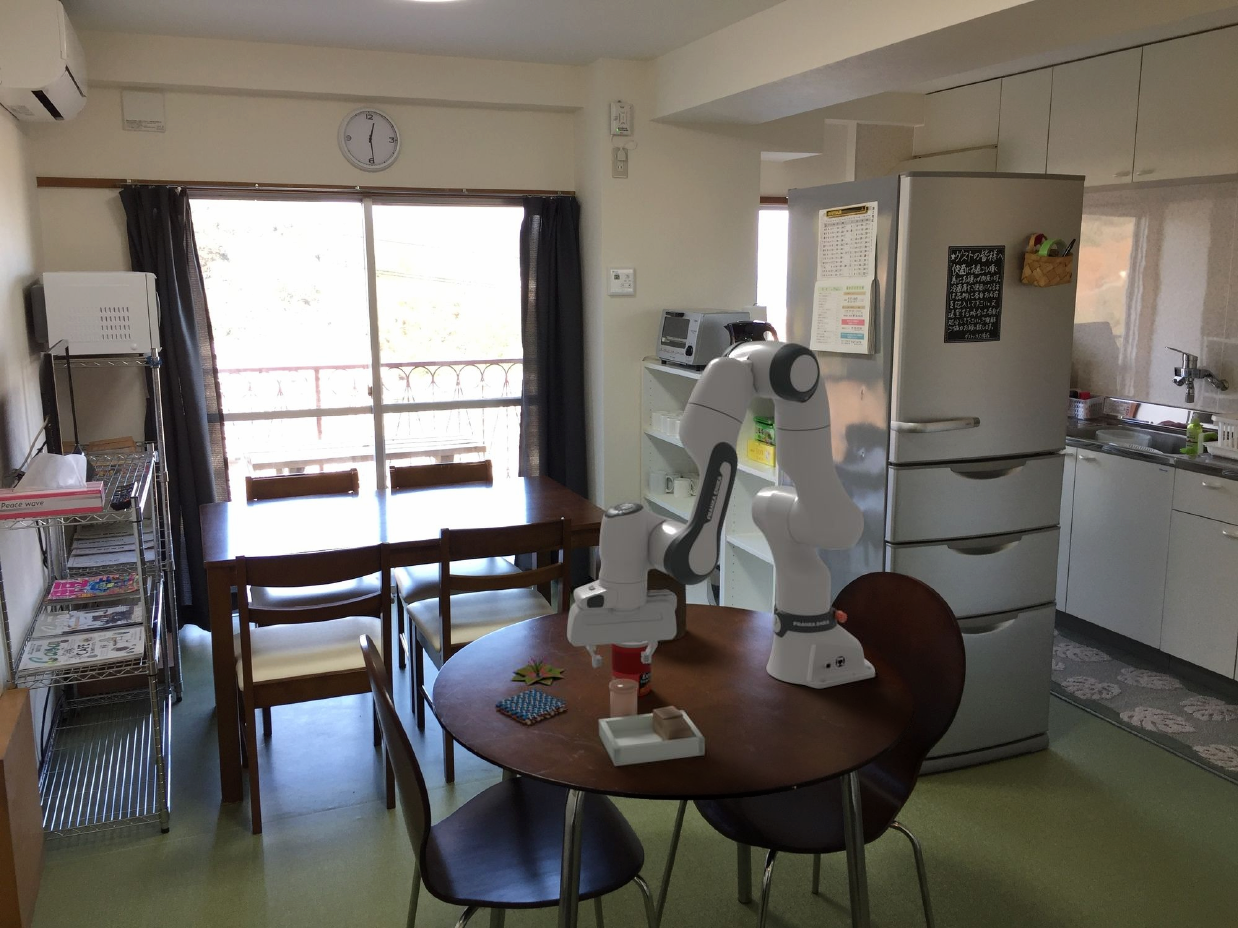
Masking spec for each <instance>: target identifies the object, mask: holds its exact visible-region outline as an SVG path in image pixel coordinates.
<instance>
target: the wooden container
mask: <svg viewBox="0 0 1238 928" xmlns="http://www.w3.org/2000/svg"><path fill="white" fill-rule="evenodd" d="M648 590H649V591H650V590H658V591H659V590H669V591H670V592H673V593H674V594H675V595H676V597H677V607H676V609H675V617H676V635H675V636H674V638H673V639H669V640H658V643H669V642H672V641H673V642H674V641H677V640H679V639H681V638H682V637H684V636H685V635H686V633H687V585H685V584H682V583H680V582H679V581H677V580H676V579H674V578H673V577H671V576H670V575H668V574H666V573H664V572H662V571H659V570H657V569H656V568H655V569H650V570H649V571H648V572H647V591H648ZM670 595H672V594H670Z"/></svg>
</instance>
